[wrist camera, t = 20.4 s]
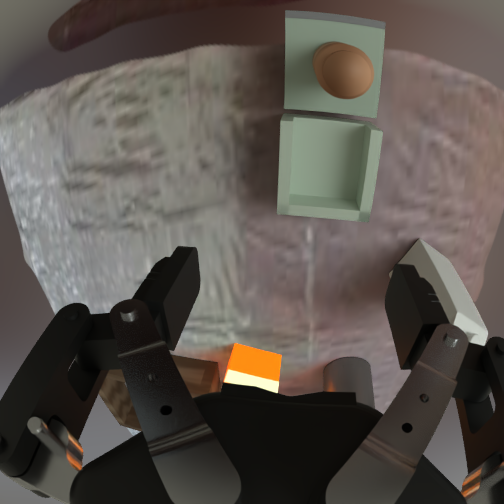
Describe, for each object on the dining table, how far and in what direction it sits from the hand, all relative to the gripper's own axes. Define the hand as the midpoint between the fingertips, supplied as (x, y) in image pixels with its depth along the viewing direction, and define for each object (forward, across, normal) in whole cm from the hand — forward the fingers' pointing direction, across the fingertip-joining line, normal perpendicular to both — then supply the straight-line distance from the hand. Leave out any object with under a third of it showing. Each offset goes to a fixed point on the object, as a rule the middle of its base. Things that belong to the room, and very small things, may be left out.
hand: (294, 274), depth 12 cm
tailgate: (+23, -3, -4) cm, 24 cm away
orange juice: (+28, +5, +39) cm, 48 cm away
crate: (+26, -3, +1) cm, 27 cm away
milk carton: (+27, -19, +15) cm, 36 cm away
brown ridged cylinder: (+22, -3, -10) cm, 24 cm away
